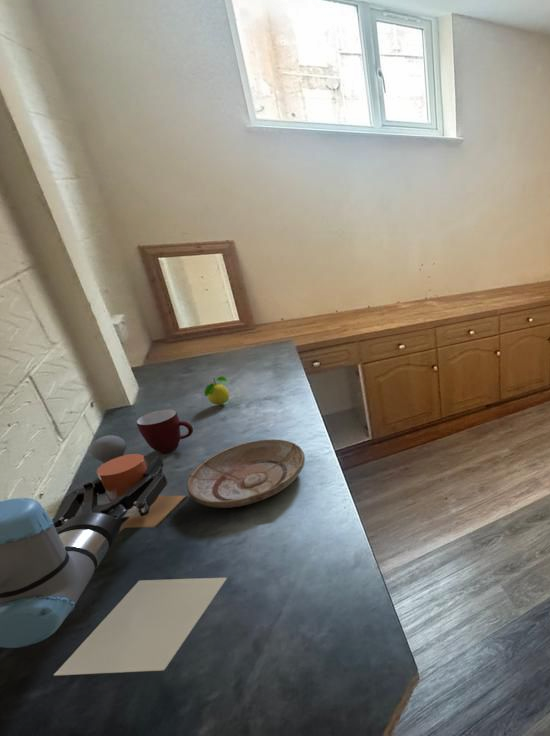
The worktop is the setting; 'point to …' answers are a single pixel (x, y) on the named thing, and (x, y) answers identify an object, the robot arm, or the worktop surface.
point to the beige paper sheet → (144, 627)
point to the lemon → (217, 392)
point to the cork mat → (154, 512)
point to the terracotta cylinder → (122, 474)
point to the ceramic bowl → (246, 473)
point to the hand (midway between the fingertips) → (137, 465)
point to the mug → (162, 429)
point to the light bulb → (108, 448)
